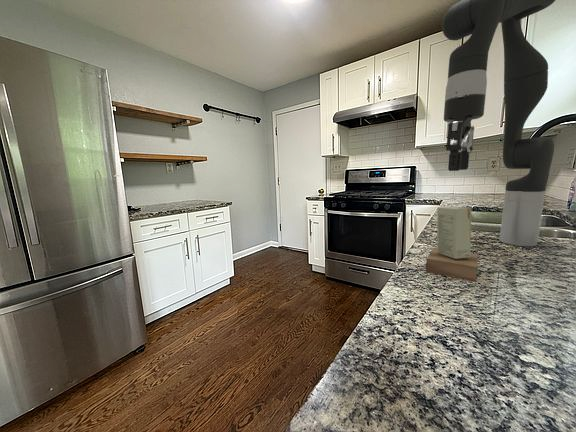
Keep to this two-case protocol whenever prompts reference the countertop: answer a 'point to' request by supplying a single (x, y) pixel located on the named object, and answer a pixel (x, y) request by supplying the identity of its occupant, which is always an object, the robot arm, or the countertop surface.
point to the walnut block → (452, 266)
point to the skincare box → (454, 231)
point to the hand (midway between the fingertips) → (458, 170)
